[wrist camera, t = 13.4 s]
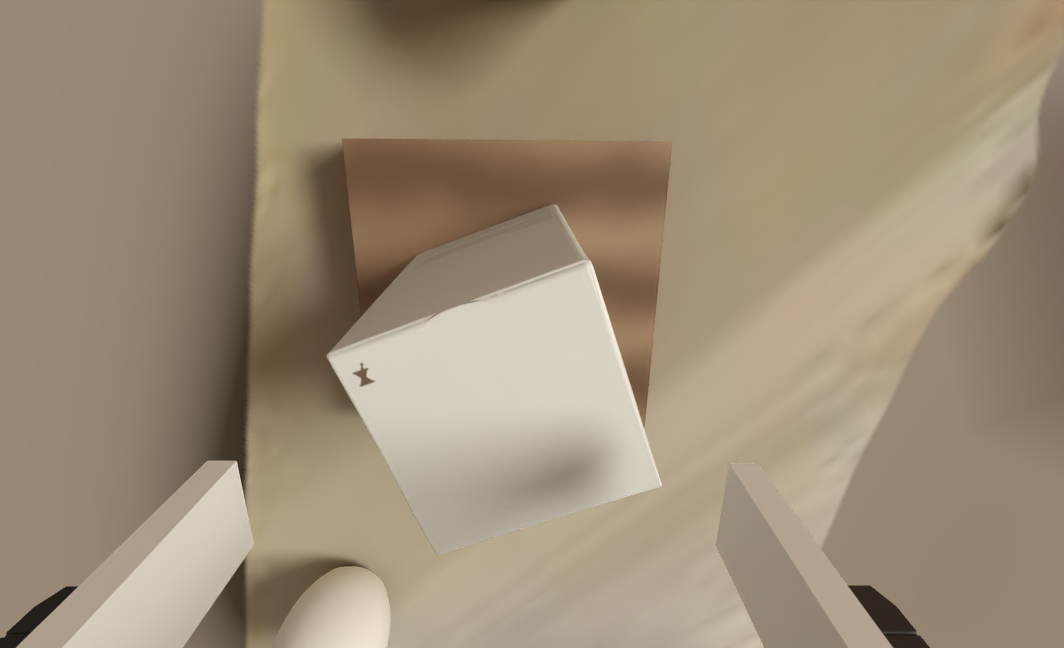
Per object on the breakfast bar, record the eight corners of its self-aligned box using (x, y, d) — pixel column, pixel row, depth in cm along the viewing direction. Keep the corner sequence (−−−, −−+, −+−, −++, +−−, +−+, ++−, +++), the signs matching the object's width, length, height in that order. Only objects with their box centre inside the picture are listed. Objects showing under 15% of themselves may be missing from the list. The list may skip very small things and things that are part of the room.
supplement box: (471, 383, 33) (428, 566, 19) (413, 253, 30) (311, 354, 16) (606, 337, 32) (670, 495, 18) (560, 199, 29) (591, 255, 15)
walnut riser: (632, 399, 38) (644, 428, 34) (388, 398, 37) (373, 427, 34) (654, 141, 32) (672, 142, 28) (364, 139, 31) (341, 138, 28)
